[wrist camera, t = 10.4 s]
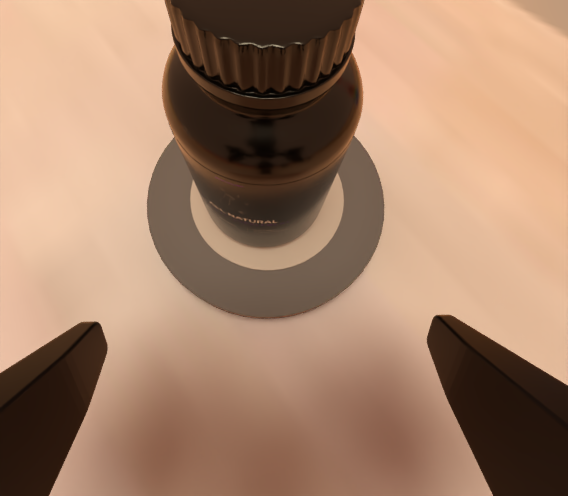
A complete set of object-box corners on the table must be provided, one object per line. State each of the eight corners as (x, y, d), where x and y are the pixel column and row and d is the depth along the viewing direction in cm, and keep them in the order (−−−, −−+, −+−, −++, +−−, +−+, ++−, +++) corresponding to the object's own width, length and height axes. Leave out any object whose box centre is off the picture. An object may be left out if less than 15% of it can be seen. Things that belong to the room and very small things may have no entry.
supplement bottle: (224, 267, 17) (136, 123, 6) (193, 161, 19) (77, -112, 8) (340, 230, 18) (462, 44, 7) (301, 132, 20) (344, -151, 8)
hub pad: (323, 361, 18) (329, 363, 16) (110, 253, 19) (95, 245, 17) (405, 165, 22) (417, 151, 20) (224, 84, 23) (220, 65, 21)
